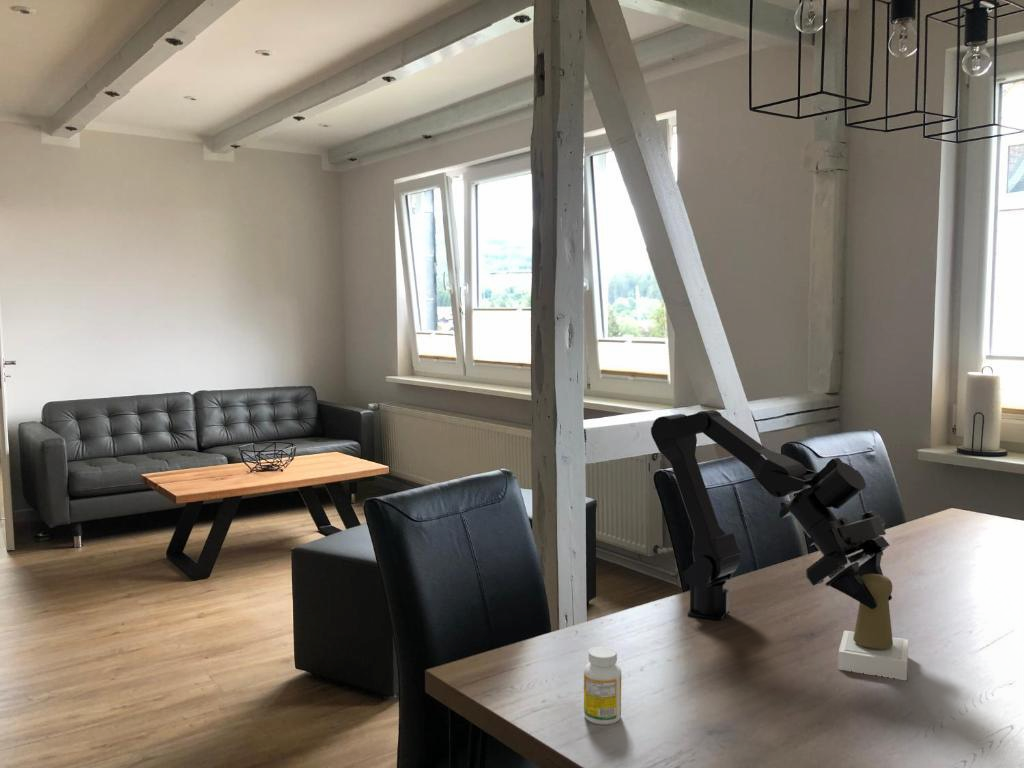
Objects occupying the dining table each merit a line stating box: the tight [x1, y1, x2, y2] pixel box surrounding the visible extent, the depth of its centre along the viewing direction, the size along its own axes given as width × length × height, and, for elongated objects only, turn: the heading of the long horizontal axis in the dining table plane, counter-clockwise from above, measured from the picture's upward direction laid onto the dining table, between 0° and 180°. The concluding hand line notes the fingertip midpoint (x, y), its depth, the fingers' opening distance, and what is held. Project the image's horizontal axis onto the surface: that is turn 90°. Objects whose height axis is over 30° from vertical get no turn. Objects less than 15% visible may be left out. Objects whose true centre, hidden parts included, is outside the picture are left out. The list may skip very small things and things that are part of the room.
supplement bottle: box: [583, 646, 622, 726], centre depth 122 cm, size 5×5×10 cm
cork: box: [853, 574, 893, 649], centre depth 139 cm, size 6×6×11 cm
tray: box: [837, 630, 909, 681], centre depth 139 cm, size 10×10×3 cm
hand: (882, 603), depth 138 cm, fingers closed on cork, 5 cm apart
